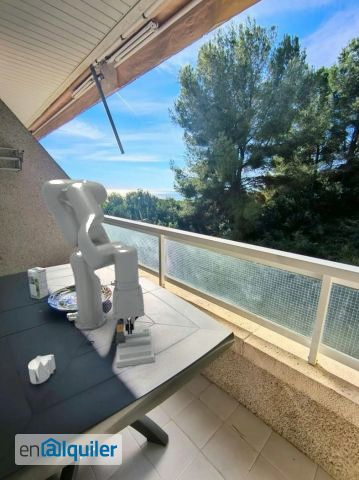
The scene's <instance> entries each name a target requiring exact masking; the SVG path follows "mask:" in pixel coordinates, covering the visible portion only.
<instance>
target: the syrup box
mask: <svg viewBox="0 0 359 480" xmlns="http://www.w3.org/2000/svg"><path fill="white" fill-rule="evenodd" d="M27 276H28V282H29V290H30V297H31V298H33V299H36V300H41V299H42V298H45V297H47V296H49V295H50V294H49V287H48V279H47V278H48V277H47V270H46V268H44V267H39V266H37V267H33V268H30V269H28V270H27Z"/></svg>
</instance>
